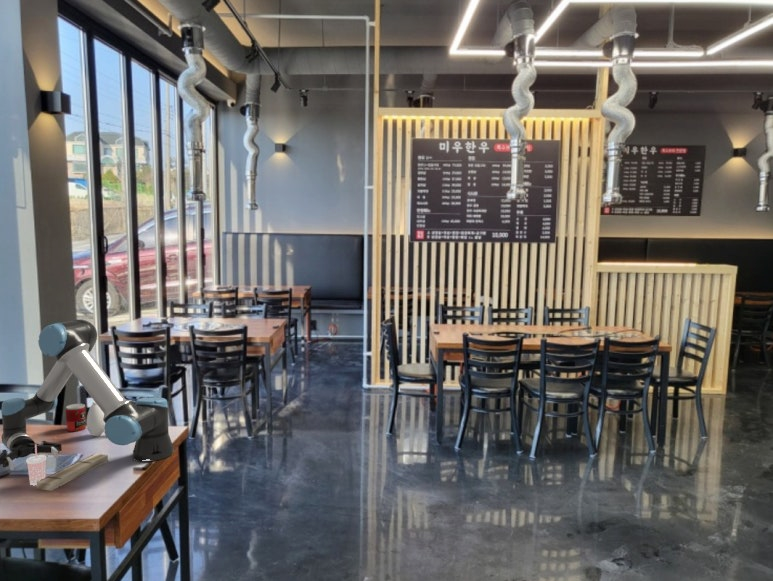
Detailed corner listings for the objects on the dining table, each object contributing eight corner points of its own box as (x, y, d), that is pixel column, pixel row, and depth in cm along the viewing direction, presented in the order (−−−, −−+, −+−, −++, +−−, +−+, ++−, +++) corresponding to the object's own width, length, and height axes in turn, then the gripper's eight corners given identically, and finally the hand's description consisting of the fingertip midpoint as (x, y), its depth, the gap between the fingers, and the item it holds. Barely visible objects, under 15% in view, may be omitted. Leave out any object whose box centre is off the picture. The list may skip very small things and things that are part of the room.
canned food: (77, 432, 238) (76, 408, 237) (62, 431, 240) (61, 407, 239) (90, 427, 246) (89, 404, 245) (75, 425, 247) (74, 403, 247)
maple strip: (107, 461, 206) (107, 454, 206) (51, 490, 181) (50, 483, 180) (95, 459, 207) (94, 453, 207) (37, 488, 182) (36, 481, 182)
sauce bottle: (85, 435, 234) (83, 396, 233) (104, 431, 240) (102, 392, 238) (89, 440, 229) (87, 399, 227) (109, 435, 234) (107, 396, 233)
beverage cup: (40, 478, 191) (38, 440, 190) (52, 480, 189) (50, 442, 187) (23, 484, 185) (21, 446, 184) (34, 487, 183) (32, 448, 182)
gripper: (58, 445, 210) (75, 460, 195) (-20, 464, 192) (-8, 482, 177) (57, 427, 209) (74, 440, 195) (-21, 444, 191) (-9, 460, 177)
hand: (35, 460), depth 186 cm, fingers open, 13 cm apart
